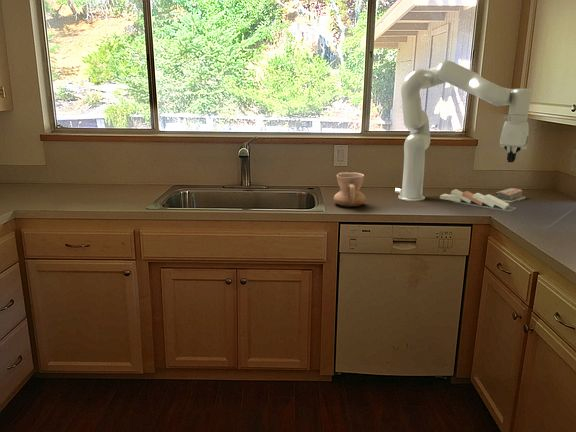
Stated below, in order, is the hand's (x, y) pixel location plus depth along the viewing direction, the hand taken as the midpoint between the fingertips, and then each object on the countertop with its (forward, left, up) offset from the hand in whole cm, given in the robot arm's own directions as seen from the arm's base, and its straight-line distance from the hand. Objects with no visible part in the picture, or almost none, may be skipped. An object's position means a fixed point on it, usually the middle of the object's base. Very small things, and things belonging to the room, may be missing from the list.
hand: (510, 161), depth 200 cm
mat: (-9, 0, -21) cm, 23 cm away
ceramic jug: (-54, -42, -22) cm, 72 cm away
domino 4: (-4, 0, -20) cm, 20 cm away
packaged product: (-6, +23, -22) cm, 32 cm away
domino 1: (-19, 0, -20) cm, 28 cm away
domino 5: (+1, 0, -20) cm, 20 cm away
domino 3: (-9, 0, -20) cm, 22 cm away
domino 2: (-14, 0, -20) cm, 24 cm away
